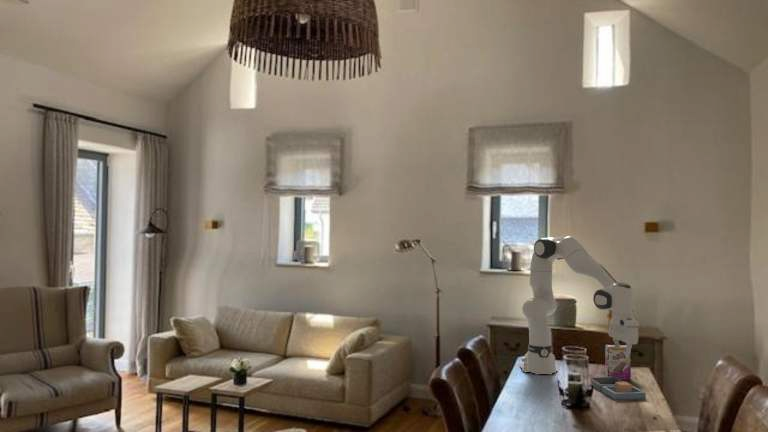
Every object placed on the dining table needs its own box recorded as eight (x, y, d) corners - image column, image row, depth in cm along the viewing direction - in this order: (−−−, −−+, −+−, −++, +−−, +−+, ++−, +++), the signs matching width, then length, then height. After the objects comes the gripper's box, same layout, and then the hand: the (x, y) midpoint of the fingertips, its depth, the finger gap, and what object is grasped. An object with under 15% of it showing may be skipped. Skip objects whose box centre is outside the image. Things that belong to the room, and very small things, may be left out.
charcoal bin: (587, 383, 279) (586, 377, 279) (614, 382, 280) (614, 376, 280) (600, 391, 265) (600, 385, 265) (629, 390, 266) (629, 384, 266)
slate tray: (602, 392, 264) (601, 386, 264) (631, 391, 265) (631, 385, 265) (614, 400, 252) (614, 393, 252) (645, 399, 253) (645, 392, 253)
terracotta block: (615, 393, 260) (615, 382, 261) (625, 392, 261) (625, 381, 261) (620, 396, 256) (620, 385, 256) (631, 396, 256) (631, 384, 256)
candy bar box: (607, 380, 285) (607, 346, 286) (605, 377, 290) (604, 344, 291) (631, 380, 284) (631, 347, 285) (628, 378, 289) (627, 345, 290)
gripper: (604, 315, 269) (604, 345, 269) (627, 323, 249) (627, 355, 248) (617, 315, 270) (617, 345, 269) (641, 323, 249) (641, 355, 249)
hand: (622, 350), depth 259 cm, fingers open, 8 cm apart
